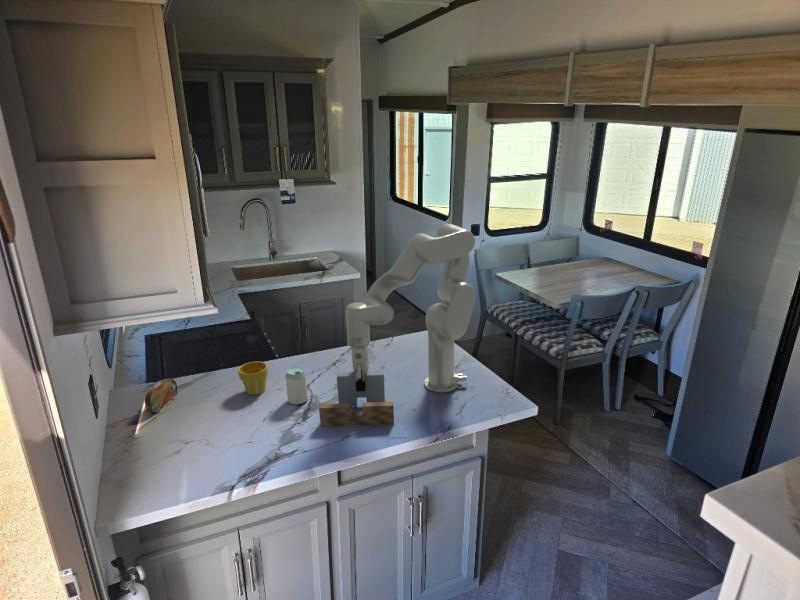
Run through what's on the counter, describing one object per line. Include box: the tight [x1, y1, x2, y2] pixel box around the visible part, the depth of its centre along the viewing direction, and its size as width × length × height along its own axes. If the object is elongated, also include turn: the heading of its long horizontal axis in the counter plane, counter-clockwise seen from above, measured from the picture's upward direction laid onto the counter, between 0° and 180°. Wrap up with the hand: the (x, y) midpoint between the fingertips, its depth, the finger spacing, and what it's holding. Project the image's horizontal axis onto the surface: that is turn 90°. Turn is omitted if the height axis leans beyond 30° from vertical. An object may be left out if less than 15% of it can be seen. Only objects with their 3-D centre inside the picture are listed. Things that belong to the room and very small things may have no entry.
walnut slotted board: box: [318, 401, 395, 428], centre depth 171 cm, size 24×2×7 cm, turn 91°
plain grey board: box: [336, 370, 386, 408], centre depth 182 cm, size 16×3×12 cm, turn 91°
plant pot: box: [237, 360, 269, 396], centre depth 193 cm, size 10×10×10 cm
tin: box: [144, 378, 178, 413], centre depth 185 cm, size 15×3×8 cm, turn 168°
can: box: [285, 366, 309, 405], centre depth 185 cm, size 7×7×12 cm
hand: (361, 387), depth 181 cm, fingers open, 4 cm apart
